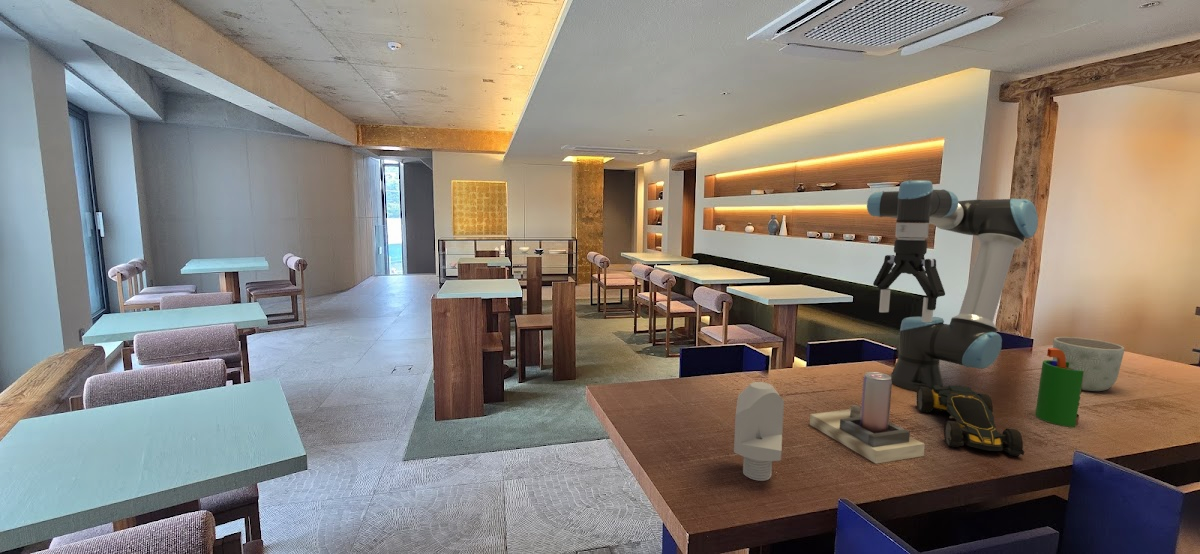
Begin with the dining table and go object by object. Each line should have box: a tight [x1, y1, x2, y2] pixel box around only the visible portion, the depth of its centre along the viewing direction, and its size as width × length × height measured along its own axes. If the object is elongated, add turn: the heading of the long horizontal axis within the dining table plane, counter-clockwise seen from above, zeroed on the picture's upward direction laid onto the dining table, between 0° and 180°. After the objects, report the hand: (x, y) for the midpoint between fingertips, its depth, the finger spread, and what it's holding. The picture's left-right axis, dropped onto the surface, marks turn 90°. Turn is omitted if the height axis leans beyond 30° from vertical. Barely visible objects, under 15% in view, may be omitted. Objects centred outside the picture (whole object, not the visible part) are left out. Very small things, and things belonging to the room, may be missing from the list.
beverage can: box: [860, 371, 893, 434], centre depth 120 cm, size 6×6×15 cm
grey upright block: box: [733, 381, 785, 482], centre depth 107 cm, size 9×9×20 cm
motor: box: [1034, 347, 1084, 428], centre depth 138 cm, size 10×9×20 cm
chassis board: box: [809, 404, 926, 465], centre depth 125 cm, size 22×14×6 cm, turn 16°
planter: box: [1052, 336, 1126, 392], centre depth 166 cm, size 17×17×15 cm
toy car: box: [916, 384, 1025, 457], centre depth 131 cm, size 16×32×10 cm, turn 159°
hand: (904, 316), depth 136 cm, fingers open, 13 cm apart
